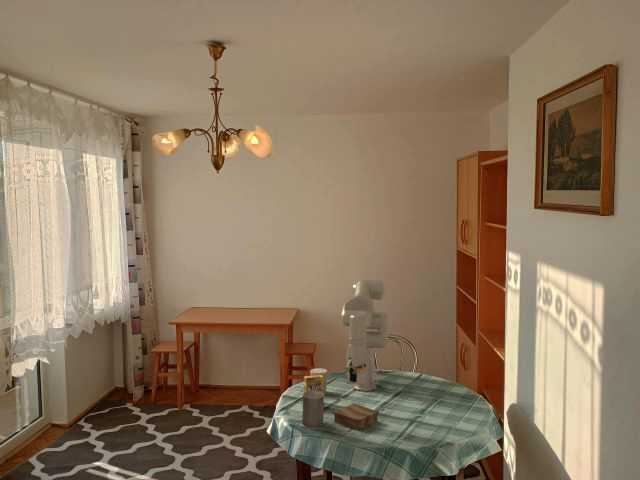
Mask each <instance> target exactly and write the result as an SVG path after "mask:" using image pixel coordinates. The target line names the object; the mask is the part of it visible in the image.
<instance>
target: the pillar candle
mask: <svg viewBox="0 0 640 480" xmlns="http://www.w3.org/2000/svg"><path fill="white" fill-rule="evenodd" d="M324 401H325V394H323V393H321V392H318V391H308V392H305V393H304V392H303V393H302V415H301V417H302V419H301V420H302V421H301V423H302V425H303V426H304V427H307V428H319V427H321V426H323V425H324V414H325V413H324V409H325V406H324V405H325V402H324Z"/></svg>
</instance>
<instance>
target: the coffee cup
mask: <svg viewBox="0 0 640 480" xmlns="http://www.w3.org/2000/svg"><path fill="white" fill-rule="evenodd" d="M309 373H310V375H309V376H311V375H322V376H323V394H324V395H325V394H326V393H327V386H328V385H327V383H328V373H329V372H328V370H327V369H326V368H322V367H320V368H319V367H318V368H312V369H311V370H310V371H309Z"/></svg>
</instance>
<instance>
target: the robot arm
mask: <svg viewBox="0 0 640 480" xmlns="http://www.w3.org/2000/svg"><path fill="white" fill-rule="evenodd" d="M351 290H352V294H353V297H352V298H350V299H348V300H346V302H345V303H344V304H343V306H342V310H341V316H340V322H341V324H342V326H344V327H349V329H348V330H349V332H348V333H349V335H348V336H349V337H348V342H349V343H348V345H347V349H346V357H345V358H346V359H345V369H346V370H347V371H349V373H350V381H351V382H356V374H355V371H356V367H358V366H361V367H365V368H366V383H363V384H360V385H357V384H354V383H352V388H353V389H354V390H357V391H361V392H370V391H374V390H376V389H377V385H376V384H375V382H378V381H379V378H378V377H374V374H375V373H374V372H375V370H374V369H375V365H374V364H375V355H374V353H373V352H372V351H371V349H378V350H379V349H380V350H383V349H386V348H387V346H388V338H389V337H388V336H389V335H388V334H389V333H388V331H389V330H388V328H389V326H388V322H389V320H388V319H389V318H388V316H387V313H386V312H383V311H375V304H374V300H375V301H381V300H384V299H385V298H386V295H387V291H386V286H385V282H384V281H382V280H381V279H359V280H358V281H357V282H356V283H354V284H352V289H351ZM352 365H353V366H352ZM352 368H353V370H352ZM351 382H350V383H351Z"/></svg>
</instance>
